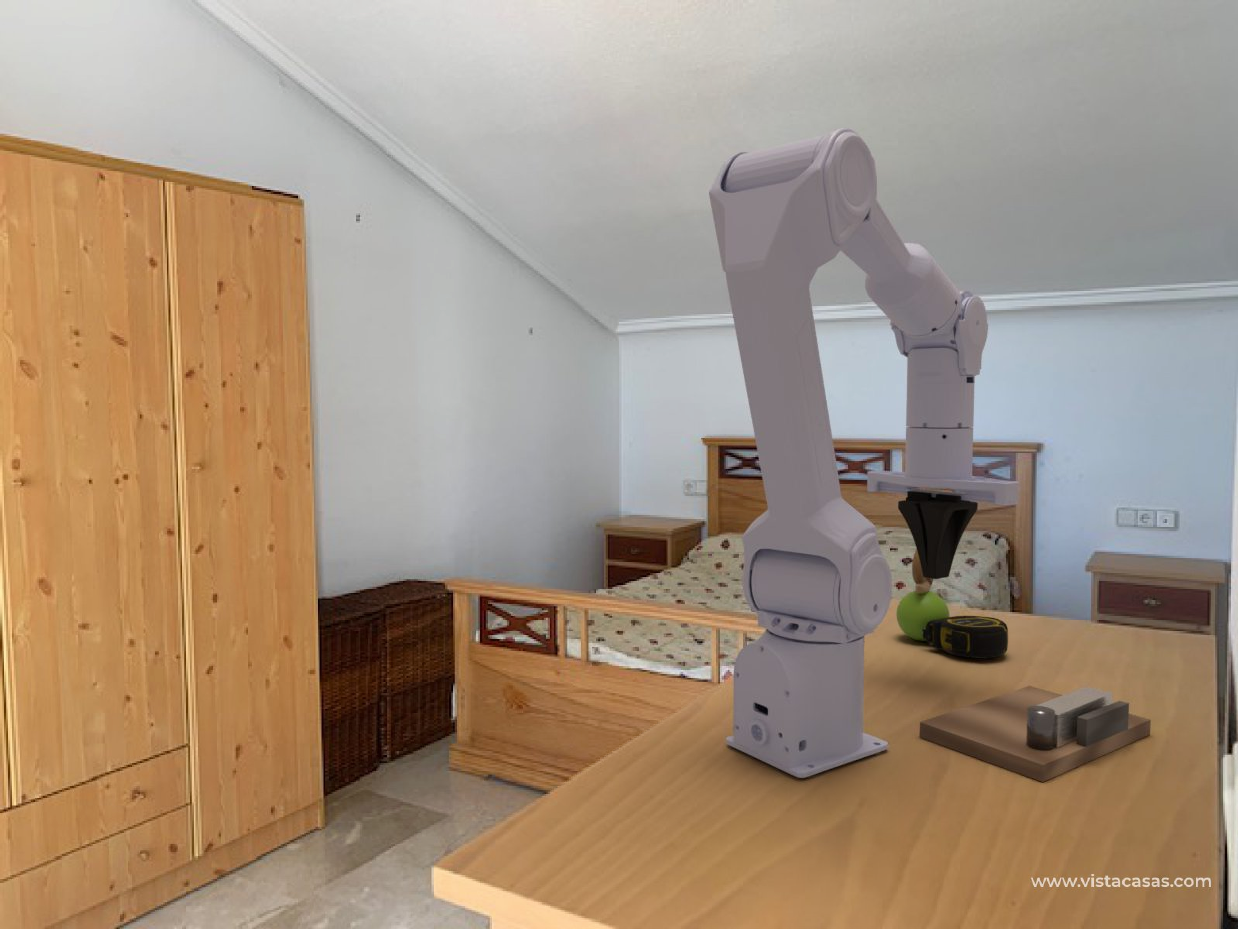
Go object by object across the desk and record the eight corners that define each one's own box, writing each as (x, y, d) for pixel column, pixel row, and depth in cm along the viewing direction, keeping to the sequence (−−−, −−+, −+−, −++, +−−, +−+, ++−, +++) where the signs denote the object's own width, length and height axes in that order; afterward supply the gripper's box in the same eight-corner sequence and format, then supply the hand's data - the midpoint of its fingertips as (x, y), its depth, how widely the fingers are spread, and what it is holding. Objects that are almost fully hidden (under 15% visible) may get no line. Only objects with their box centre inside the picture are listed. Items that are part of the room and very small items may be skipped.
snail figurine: (955, 635, 99) (958, 527, 98) (942, 649, 94) (945, 535, 93) (905, 629, 102) (907, 524, 101) (890, 642, 96) (892, 531, 95)
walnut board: (1042, 782, 61) (1044, 736, 61) (919, 737, 70) (920, 696, 69) (1150, 734, 70) (1151, 694, 70) (1028, 699, 78) (1030, 663, 78)
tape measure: (971, 643, 97) (971, 609, 96) (1023, 660, 90) (1024, 623, 90) (921, 651, 94) (922, 616, 93) (971, 669, 88) (972, 631, 87)
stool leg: (1046, 752, 63) (1048, 716, 63) (1019, 744, 65) (1021, 708, 65) (1111, 723, 69) (1112, 690, 69) (1085, 716, 70) (1086, 683, 70)
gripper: (1041, 428, 77) (1036, 584, 78) (901, 424, 89) (898, 560, 90) (992, 430, 73) (988, 595, 74) (853, 426, 85) (851, 568, 86)
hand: (936, 577), depth 82 cm, fingers closed
